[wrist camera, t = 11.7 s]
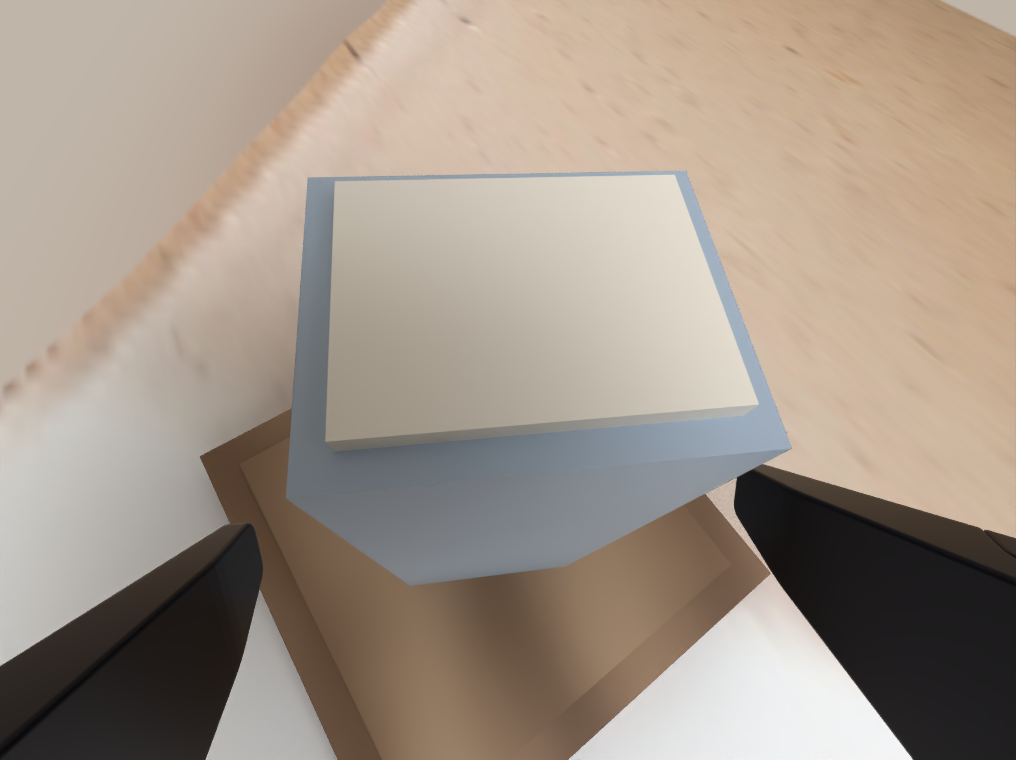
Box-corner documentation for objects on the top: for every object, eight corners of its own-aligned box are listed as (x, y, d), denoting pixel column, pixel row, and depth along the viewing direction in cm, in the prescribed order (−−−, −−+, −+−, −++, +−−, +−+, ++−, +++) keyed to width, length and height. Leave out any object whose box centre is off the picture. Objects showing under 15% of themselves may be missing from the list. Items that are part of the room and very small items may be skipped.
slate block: (565, 566, 16) (810, 439, 5) (410, 585, 16) (274, 490, 4) (546, 449, 18) (695, 152, 7) (405, 462, 17) (301, 156, 6)
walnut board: (409, 886, 14) (405, 910, 12) (215, 466, 18) (198, 455, 17) (752, 576, 18) (772, 573, 17) (527, 300, 22) (531, 282, 21)
